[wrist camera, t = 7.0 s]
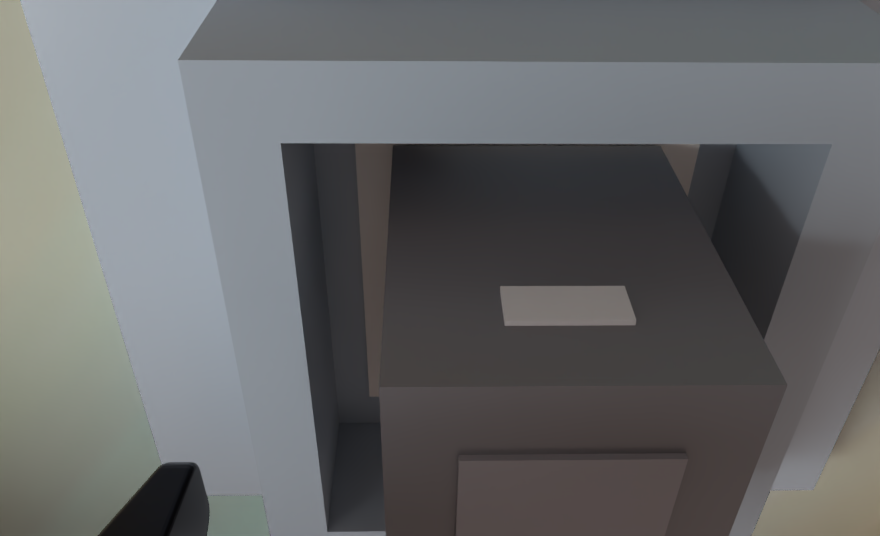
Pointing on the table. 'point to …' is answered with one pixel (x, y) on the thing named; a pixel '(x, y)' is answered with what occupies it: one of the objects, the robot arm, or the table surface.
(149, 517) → the robot arm
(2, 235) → the table surface
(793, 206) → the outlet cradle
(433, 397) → the brick
